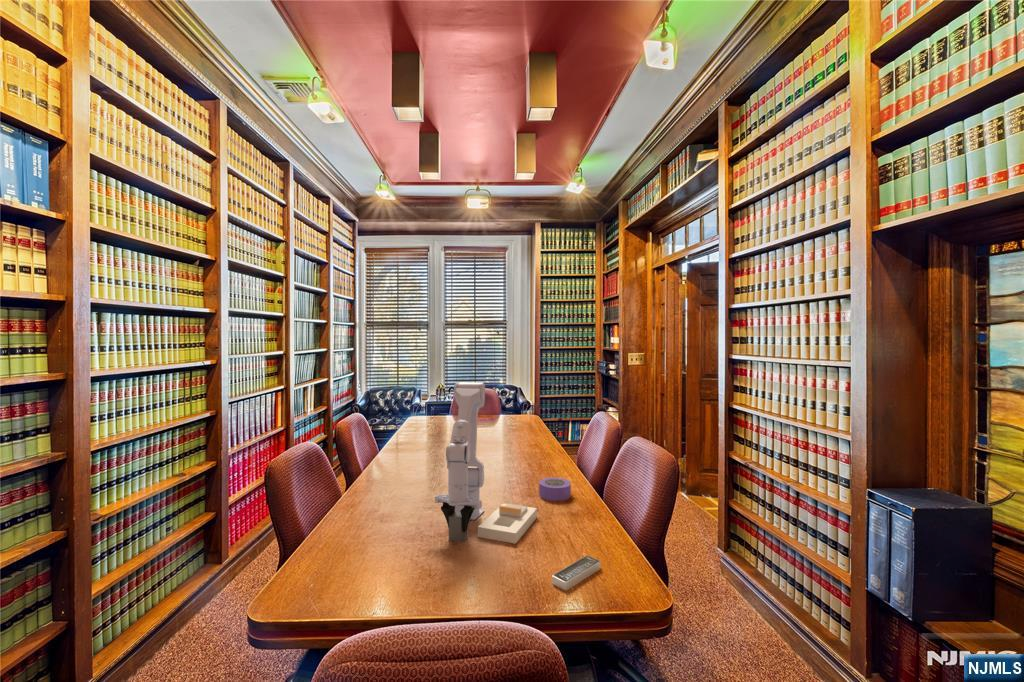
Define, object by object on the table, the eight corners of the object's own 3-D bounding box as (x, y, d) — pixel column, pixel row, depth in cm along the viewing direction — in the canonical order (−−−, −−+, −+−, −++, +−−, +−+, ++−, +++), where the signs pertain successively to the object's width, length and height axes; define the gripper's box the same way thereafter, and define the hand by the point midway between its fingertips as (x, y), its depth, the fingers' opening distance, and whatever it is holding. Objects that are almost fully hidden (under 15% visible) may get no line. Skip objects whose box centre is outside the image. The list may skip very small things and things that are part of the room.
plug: (448, 540, 131) (448, 516, 131) (455, 534, 135) (455, 511, 135) (461, 542, 130) (461, 518, 130) (467, 536, 133) (467, 513, 133)
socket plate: (477, 536, 133) (477, 526, 133) (503, 512, 152) (503, 503, 152) (515, 543, 129) (515, 533, 129) (536, 517, 148) (537, 508, 148)
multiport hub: (551, 584, 109) (551, 575, 109) (587, 563, 119) (587, 554, 119) (565, 592, 105) (565, 582, 105) (601, 569, 116) (601, 560, 116)
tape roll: (577, 497, 167) (577, 483, 167) (552, 503, 160) (552, 489, 160) (556, 488, 176) (556, 475, 176) (532, 494, 170) (532, 480, 170)
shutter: (499, 514, 142) (499, 506, 142) (507, 506, 149) (507, 498, 149) (520, 517, 140) (520, 509, 140) (527, 509, 146) (527, 501, 146)
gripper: (429, 484, 131) (429, 531, 131) (474, 491, 126) (474, 539, 126) (441, 477, 138) (441, 521, 138) (484, 483, 132) (484, 529, 133)
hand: (458, 529), depth 132 cm, fingers closed on plug, 4 cm apart
